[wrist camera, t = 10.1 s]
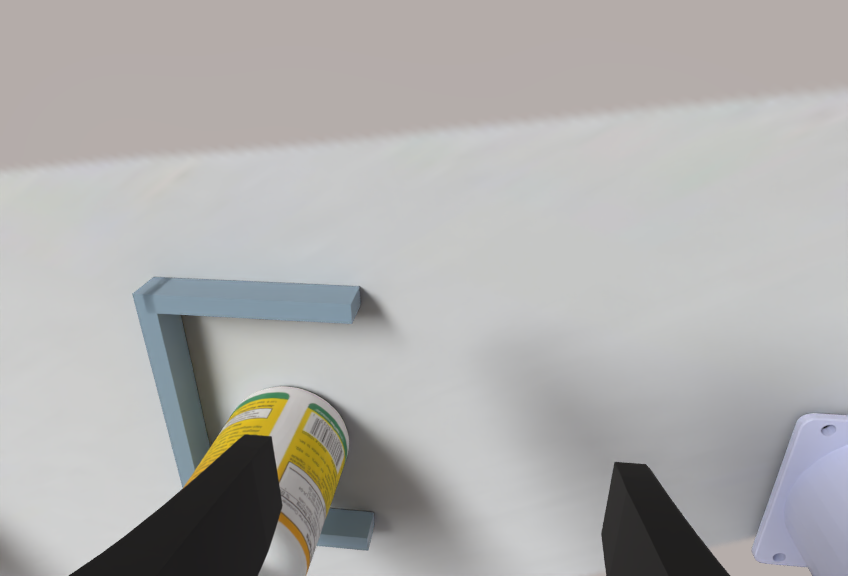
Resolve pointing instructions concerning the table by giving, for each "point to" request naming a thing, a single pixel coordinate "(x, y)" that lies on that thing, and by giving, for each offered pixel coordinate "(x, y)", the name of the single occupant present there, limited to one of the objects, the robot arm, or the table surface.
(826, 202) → the table surface
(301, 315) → the blue-grey u-shaped bracket
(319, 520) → the supplement bottle
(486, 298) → the table surface
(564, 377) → the table surface
